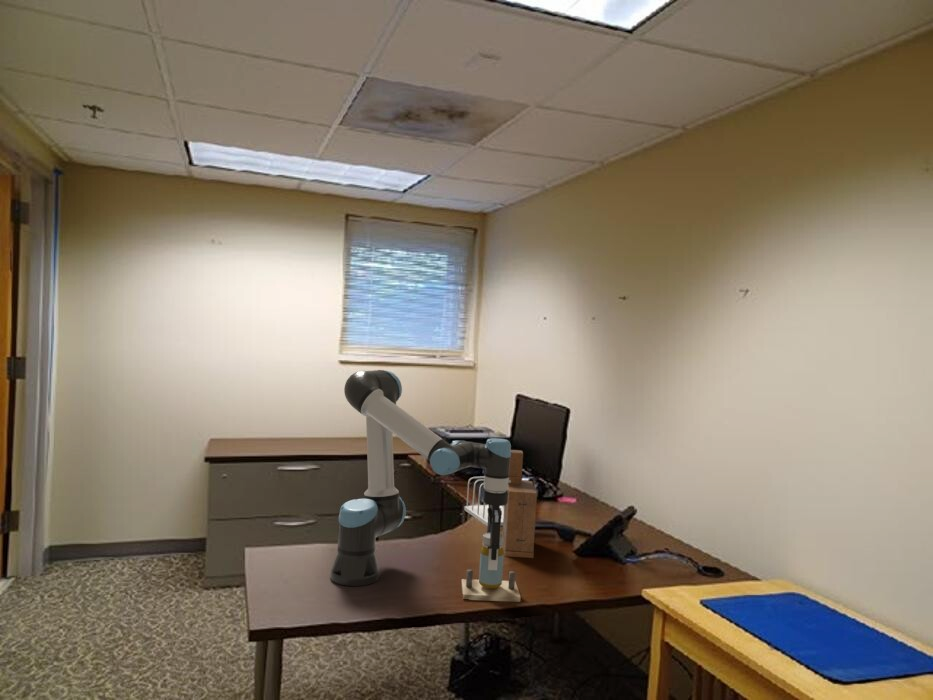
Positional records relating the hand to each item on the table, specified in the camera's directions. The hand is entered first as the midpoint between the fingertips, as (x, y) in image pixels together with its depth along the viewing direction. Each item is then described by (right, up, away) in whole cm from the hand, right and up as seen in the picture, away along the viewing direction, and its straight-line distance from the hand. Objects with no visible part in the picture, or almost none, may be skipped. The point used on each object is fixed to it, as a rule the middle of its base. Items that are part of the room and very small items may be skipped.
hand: (491, 564), depth 193 cm
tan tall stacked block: (+10, -8, +44) cm, 46 cm away
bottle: (0, -6, 0) cm, 6 cm away
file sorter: (+4, -7, +82) cm, 83 cm away
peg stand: (0, -8, 0) cm, 8 cm away
